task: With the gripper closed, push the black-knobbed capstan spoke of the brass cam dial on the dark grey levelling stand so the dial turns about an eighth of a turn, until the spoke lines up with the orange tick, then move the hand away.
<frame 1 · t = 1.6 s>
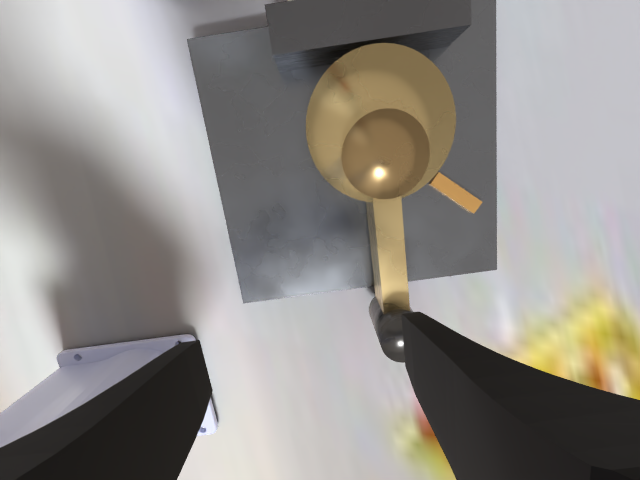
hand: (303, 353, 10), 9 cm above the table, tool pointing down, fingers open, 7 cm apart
cam dial: (385, 212, 15), point 3 cm above the table, hinge at 0.0°
stand base: (353, 164, 18), on the table
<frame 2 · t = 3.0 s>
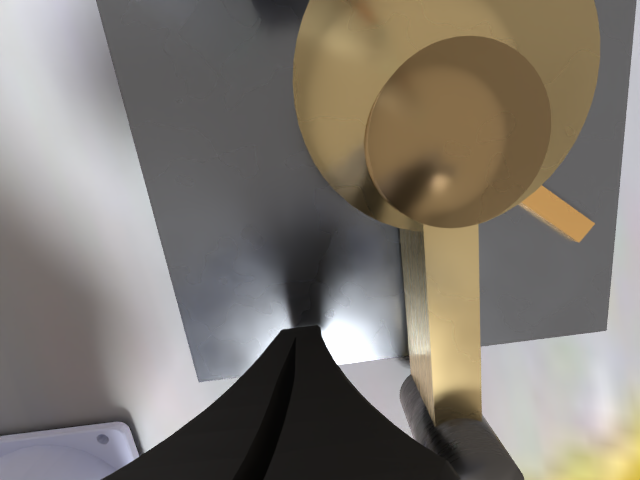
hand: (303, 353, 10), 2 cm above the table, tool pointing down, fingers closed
cam dial: (442, 247, 8), point 3 cm above the table, hinge at 0.0°
stand base: (376, 161, 11), on the table
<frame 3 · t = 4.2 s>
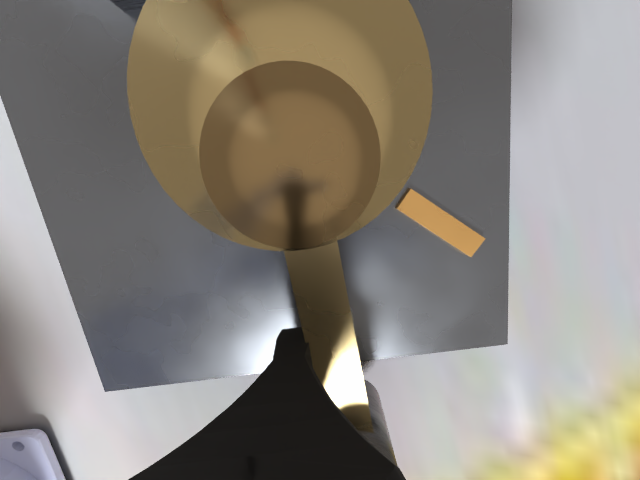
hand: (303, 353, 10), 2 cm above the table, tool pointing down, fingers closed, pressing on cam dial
cam dial: (315, 263, 8), point 3 cm above the table, hinge at 3.7°, touching gripper
stand base: (273, 174, 11), on the table
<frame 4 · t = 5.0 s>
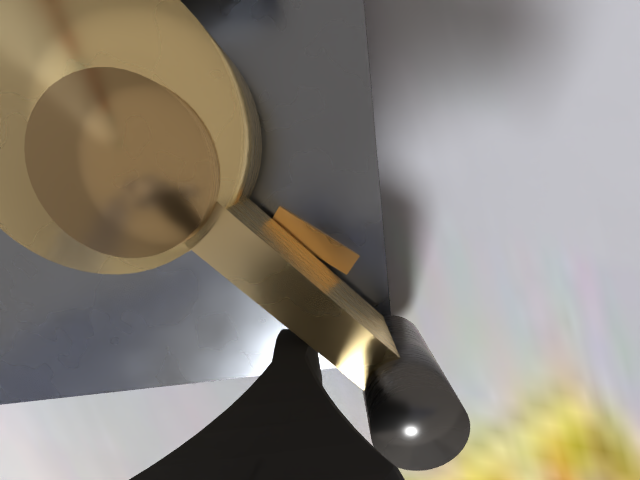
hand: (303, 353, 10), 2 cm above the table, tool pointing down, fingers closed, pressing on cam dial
cam dial: (235, 241, 8), point 3 cm above the table, hinge at 40.0°, touching gripper
stand base: (155, 190, 11), on the table
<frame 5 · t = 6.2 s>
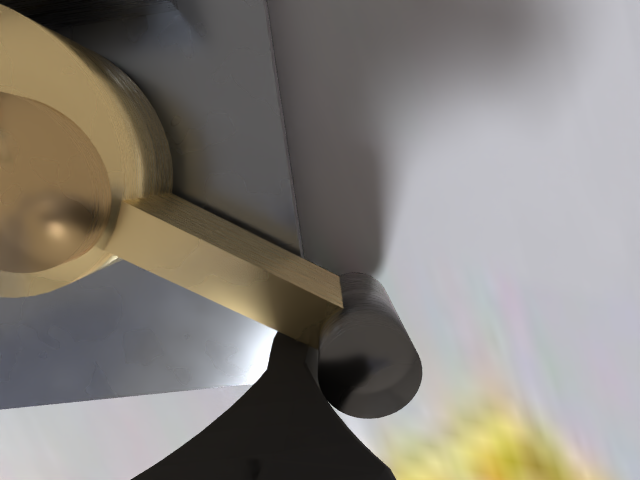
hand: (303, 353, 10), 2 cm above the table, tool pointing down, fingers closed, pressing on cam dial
cam dial: (152, 233, 8), point 3 cm above the table, hinge at 55.4°, touching gripper
stand base: (81, 208, 11), on the table
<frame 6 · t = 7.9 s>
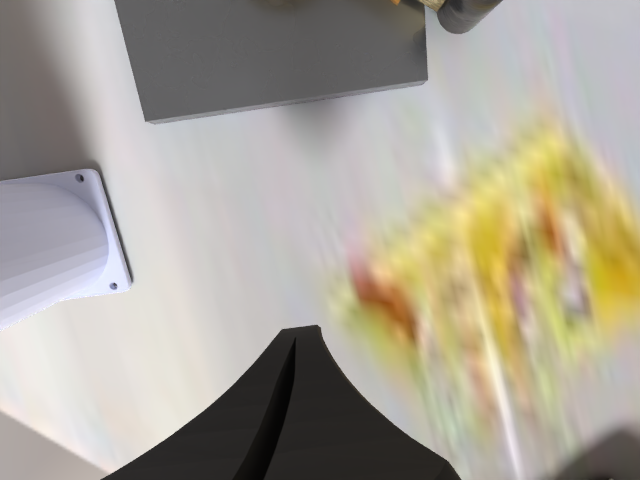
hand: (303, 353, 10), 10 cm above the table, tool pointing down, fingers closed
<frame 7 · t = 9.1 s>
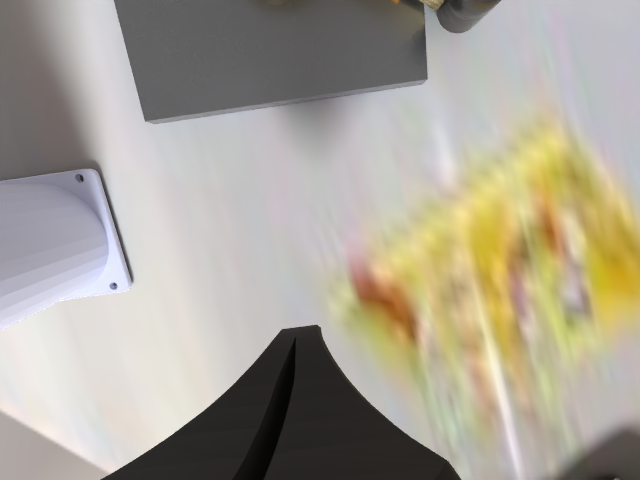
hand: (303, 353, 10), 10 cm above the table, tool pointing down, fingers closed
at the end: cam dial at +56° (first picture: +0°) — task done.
